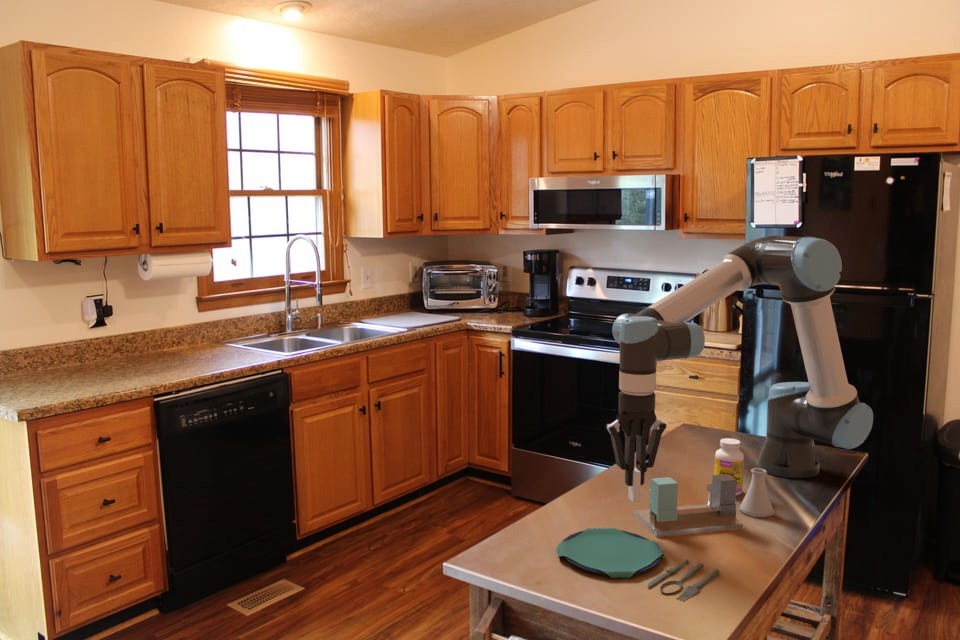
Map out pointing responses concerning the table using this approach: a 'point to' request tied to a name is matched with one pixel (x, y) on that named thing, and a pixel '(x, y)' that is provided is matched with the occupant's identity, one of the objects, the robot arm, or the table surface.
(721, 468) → the supplement bottle
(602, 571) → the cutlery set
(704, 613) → the table surface
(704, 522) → the base
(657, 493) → the block
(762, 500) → the flask
